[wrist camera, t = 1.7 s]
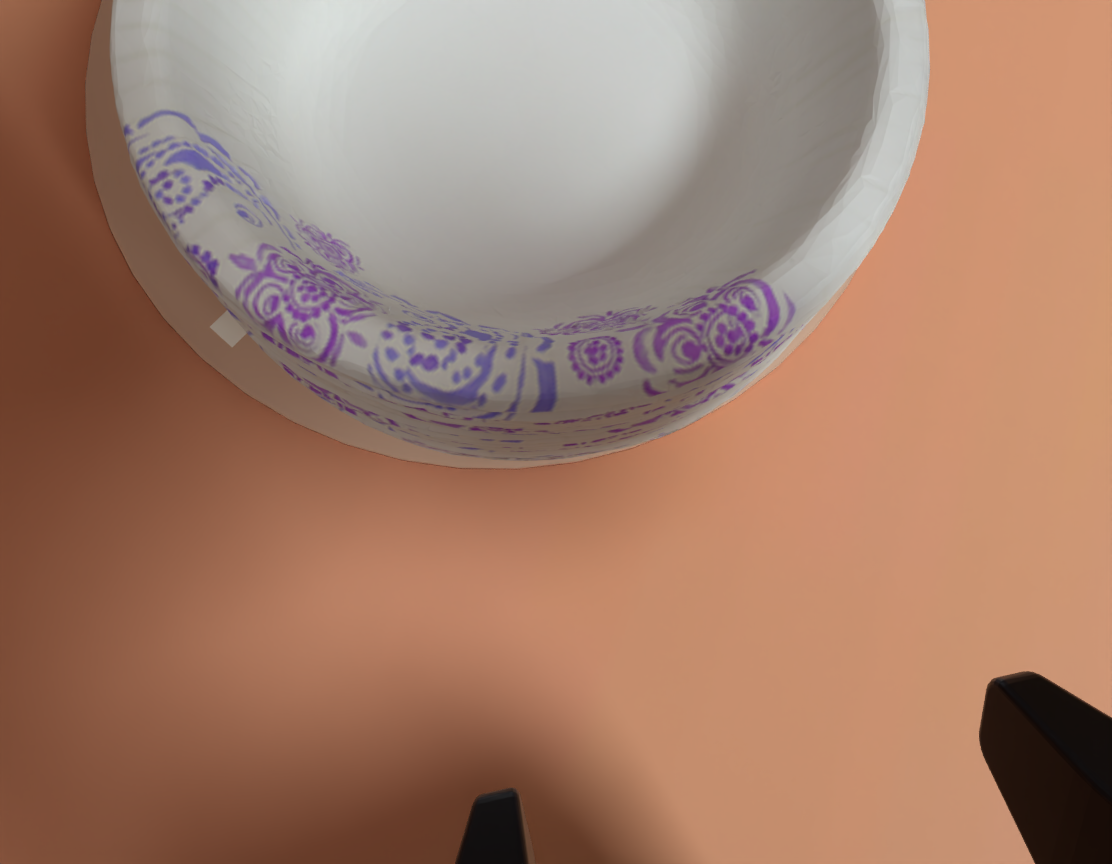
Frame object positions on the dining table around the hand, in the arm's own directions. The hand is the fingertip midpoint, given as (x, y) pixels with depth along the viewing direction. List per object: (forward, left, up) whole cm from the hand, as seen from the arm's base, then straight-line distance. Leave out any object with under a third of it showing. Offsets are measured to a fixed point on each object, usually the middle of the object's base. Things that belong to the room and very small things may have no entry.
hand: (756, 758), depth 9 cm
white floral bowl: (+10, -8, -14) cm, 19 cm away
